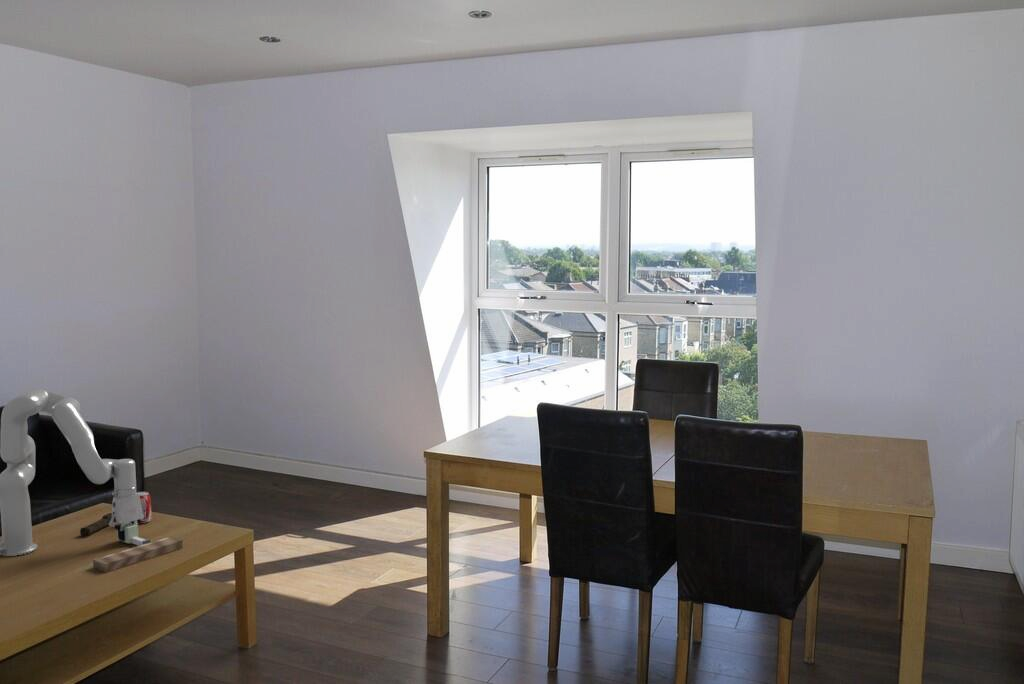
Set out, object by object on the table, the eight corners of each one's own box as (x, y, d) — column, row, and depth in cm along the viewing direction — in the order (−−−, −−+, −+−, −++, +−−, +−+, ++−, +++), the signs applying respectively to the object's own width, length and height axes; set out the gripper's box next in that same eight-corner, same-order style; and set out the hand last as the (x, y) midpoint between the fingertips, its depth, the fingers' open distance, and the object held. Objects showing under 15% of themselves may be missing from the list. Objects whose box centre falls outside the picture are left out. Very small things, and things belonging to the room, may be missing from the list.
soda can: (155, 520, 353) (154, 492, 352) (141, 525, 347) (140, 496, 345) (143, 518, 356) (141, 490, 355) (129, 523, 350) (127, 494, 348)
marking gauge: (142, 548, 318) (141, 532, 317) (117, 539, 328) (116, 524, 327) (152, 545, 321) (151, 529, 321) (126, 536, 331) (126, 521, 330)
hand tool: (88, 537, 333) (88, 526, 332) (79, 537, 333) (79, 525, 333) (120, 523, 351) (119, 511, 351) (111, 522, 352) (111, 511, 351)
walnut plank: (105, 572, 296) (105, 563, 296) (93, 567, 301) (92, 559, 300) (182, 548, 321) (182, 540, 320) (170, 543, 325) (169, 535, 325)
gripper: (110, 498, 316) (112, 546, 318) (151, 488, 330) (153, 534, 332) (98, 495, 320) (101, 542, 322) (140, 485, 334) (142, 531, 336)
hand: (127, 538), depth 327 cm, fingers closed on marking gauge, 4 cm apart
